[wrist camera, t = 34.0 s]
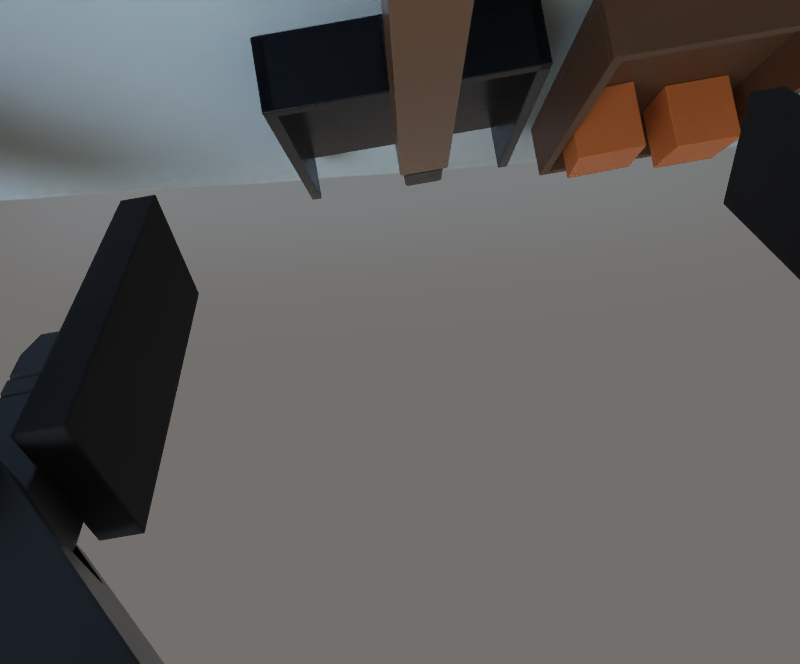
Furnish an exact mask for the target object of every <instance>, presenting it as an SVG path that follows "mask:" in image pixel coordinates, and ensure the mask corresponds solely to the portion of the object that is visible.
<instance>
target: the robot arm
mask: <svg viewBox="0 0 800 664" xmlns="http://www.w3.org/2000/svg"><path fill="white" fill-rule="evenodd" d="M724 205H726V206H727V207H728V208H729V210H730V211H731V212H732V213H733V214H734V215H735V216H736V217H738V219H739V220H740V221H741V222H742V223H744V225H746V226H747V228H749V230H751V231H752V232H753V234H755V235H756V236H757V237H758V238H759V239H760V240H761V241H762V242H763V243H764V244H765V245H766V246H767V247H768V248H769V249H770V250H771V251H772V252H773V253H774V254H775V255H776V256H777V257H778V258H779V259H780V260H781V261H782V262H783V263H784V264H785V265H786V266H787V267H788V268H789V269H790V270H791V271H792V272H793V273H794V274H795V275H796V276H797V277H798V278H799V279H800V95H799V94H797V93H795V92H794V91H792V90H791V89H789V88H787V87H786V86H782V87H777V88H771V89H765V90H759V91H753V92H750V94H749V99H748V103H747V107H746V111H745V115H744V120H743V124H742V128H741V132H740V136H739V140H738V145H737V149H736V153H735V157H734V162H733V166H732V170H731V174H730V178H729V182H728V187H727V191H726V195H725V199H724ZM197 299H198V291H197V289H196V286H195V284H194V282H193V280H192V277H191V275H190V273H189V271H188V268H187V266H186V264H185V261H184V259H183V257H182V255H181V252H180V250H179V248H178V246H177V243H176V241H175V239H174V236H173V234H172V232H171V230H170V227H169V225H168V223H167V221H166V218H165V216H164V214H163V211H162V209H161V207H160V205H159V202H158V200H157V198H156V196H155V195H152V196H146V197H141V198H134V199H129V200H123V201H121V202H120V204H119V206H118V208H117V210H116V212H115V214H114V217H113V219H112V221H111V223H110V225H109V227H108V229H107V231H106V234H105V236H104V238H103V240H102V242H101V244H100V246H99V248H98V251H97V253H96V255H95V257H94V259H93V261H92V263H91V265H90V268H89V270H88V272H87V274H86V276H85V279H84V280H83V282H82V285H81V287H80V289H79V291H78V293H77V295H76V297H75V300H74V302H73V304H72V306H71V308H70V310H69V312H68V315H67V317H66V319H65V321H64V323H63V325H62V327H61V329H60V331H59V332H53V333H47V334H42V335H40V336H39V337H38V338H37V339H36V340H35V341H34V342H33V343H32V344H31V345H30V346H29V347H28V348H27V349H26V350H25V351H24V352H23V353H22V354H21V356H20V357H19V359H18V361H17V363H16V365H15V367H14V369H13V371H12V373H11V375H10V380H9V381H7V383H6V384H5V386H4V388H3V390H2V392H1V398H0V664H164V663H163V661H162V660H161V659H160V657H159V656H158V655H157V653H156V652H155V650H154V649H153V647H152V646H151V645H150V643H149V642H148V641H147V639H146V638H145V636H144V635H143V634H142V632H141V631H140V629H139V628H138V627H137V625H136V624H135V622H134V621H133V620H132V619H131V617H130V616H129V614H128V613H127V611H126V610H125V609H124V607H123V606H122V605H121V603H120V602H119V600H118V599H117V597H116V596H115V595H114V593H113V592H112V590H111V589H110V588H109V586H108V585H107V584H106V582H105V581H104V579H103V578H102V577H101V575H100V574H99V572H98V571H97V570H96V568H95V567H94V566H93V564H92V563H91V561H90V560H89V559H88V557H87V556H86V554H85V553H84V552H83V551H82V550H81V549H80V548H79V546H78V545H77V540H78V537H79V534H80V531H81V528H82V525H83V522H84V523H85V524H86V525H87V527H88V528H89V529H90V530H91V531H92V532H93V534H94V535H95V536H96V537H97V538H98V539H99V540H106V539H112V538H117V537H123V536H129V535H135V534H141V533H144V532H145V528H146V523H147V519H148V515H149V510H150V506H151V502H152V497H153V493H154V488H155V483H156V480H157V475H158V471H159V466H160V462H161V457H162V453H163V449H164V444H165V440H166V435H167V431H168V427H169V422H170V417H171V413H172V409H173V405H174V400H175V395H176V391H177V387H178V383H179V378H180V374H181V369H182V365H183V360H184V356H185V351H186V347H187V343H188V338H189V334H190V330H191V325H192V321H193V316H194V312H195V308H196V303H197Z"/></svg>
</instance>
